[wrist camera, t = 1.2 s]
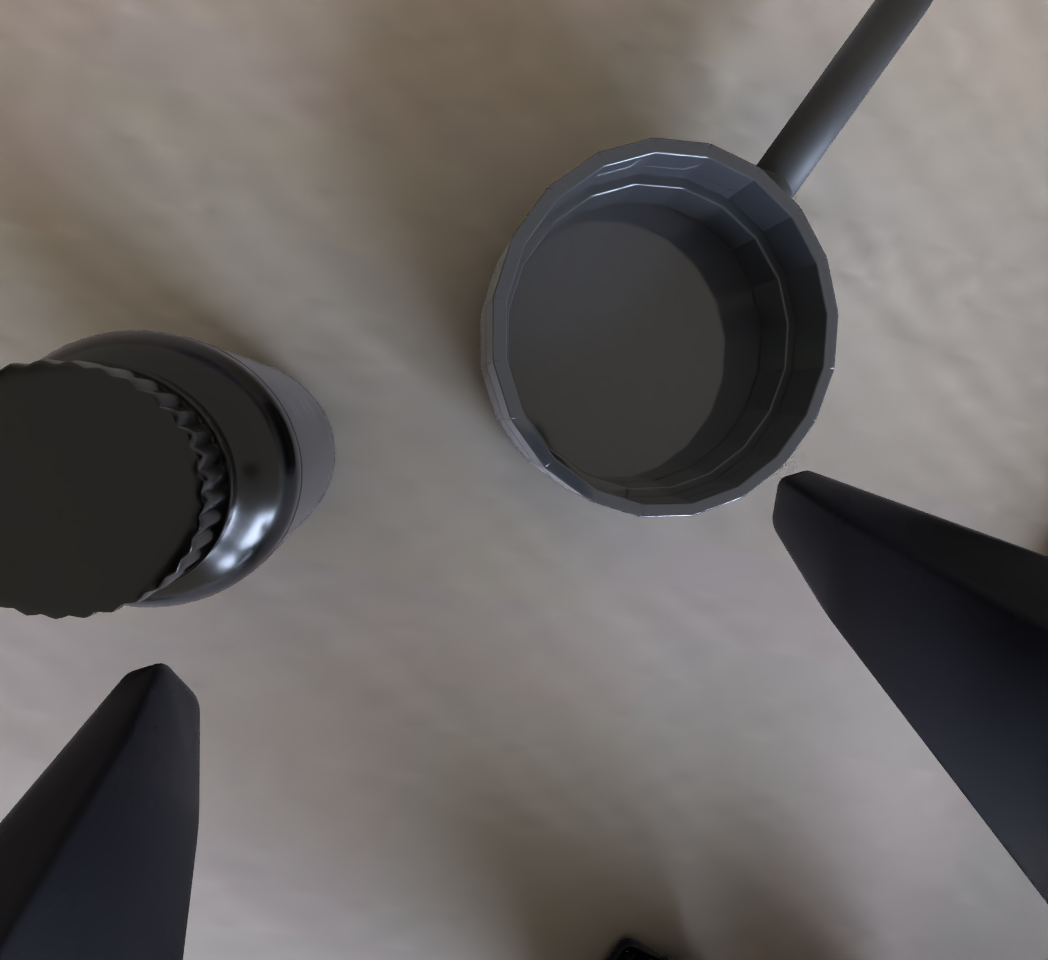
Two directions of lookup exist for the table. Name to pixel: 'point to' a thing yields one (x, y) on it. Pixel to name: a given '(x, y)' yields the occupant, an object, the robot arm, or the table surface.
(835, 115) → the pan handle
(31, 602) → the supplement bottle
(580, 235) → the pan
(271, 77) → the table surface
